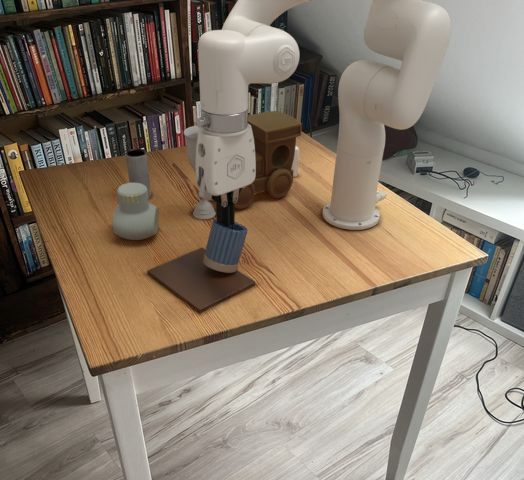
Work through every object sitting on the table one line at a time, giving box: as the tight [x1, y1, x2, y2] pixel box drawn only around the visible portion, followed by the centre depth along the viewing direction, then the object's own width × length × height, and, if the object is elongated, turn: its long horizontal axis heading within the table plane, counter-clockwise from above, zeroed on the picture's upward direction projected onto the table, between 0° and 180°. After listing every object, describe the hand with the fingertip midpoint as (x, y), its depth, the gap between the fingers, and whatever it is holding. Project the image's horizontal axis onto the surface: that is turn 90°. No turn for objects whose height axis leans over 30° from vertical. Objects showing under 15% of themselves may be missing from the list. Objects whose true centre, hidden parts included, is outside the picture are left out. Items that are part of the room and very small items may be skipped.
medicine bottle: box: [291, 145, 300, 178], centre depth 138 cm, size 7×7×12 cm
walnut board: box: [147, 247, 256, 314], centre depth 105 cm, size 13×16×1 cm
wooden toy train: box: [235, 110, 303, 210], centre depth 127 cm, size 20×11×17 cm, turn 124°
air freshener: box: [112, 182, 160, 241], centre depth 114 cm, size 11×8×10 cm
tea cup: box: [203, 218, 249, 273], centre depth 104 cm, size 8×7×7 cm
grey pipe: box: [125, 148, 152, 199], centre depth 127 cm, size 4×4×10 cm
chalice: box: [183, 125, 216, 220], centre depth 119 cm, size 7×7×18 cm
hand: (225, 222), depth 102 cm, fingers closed
